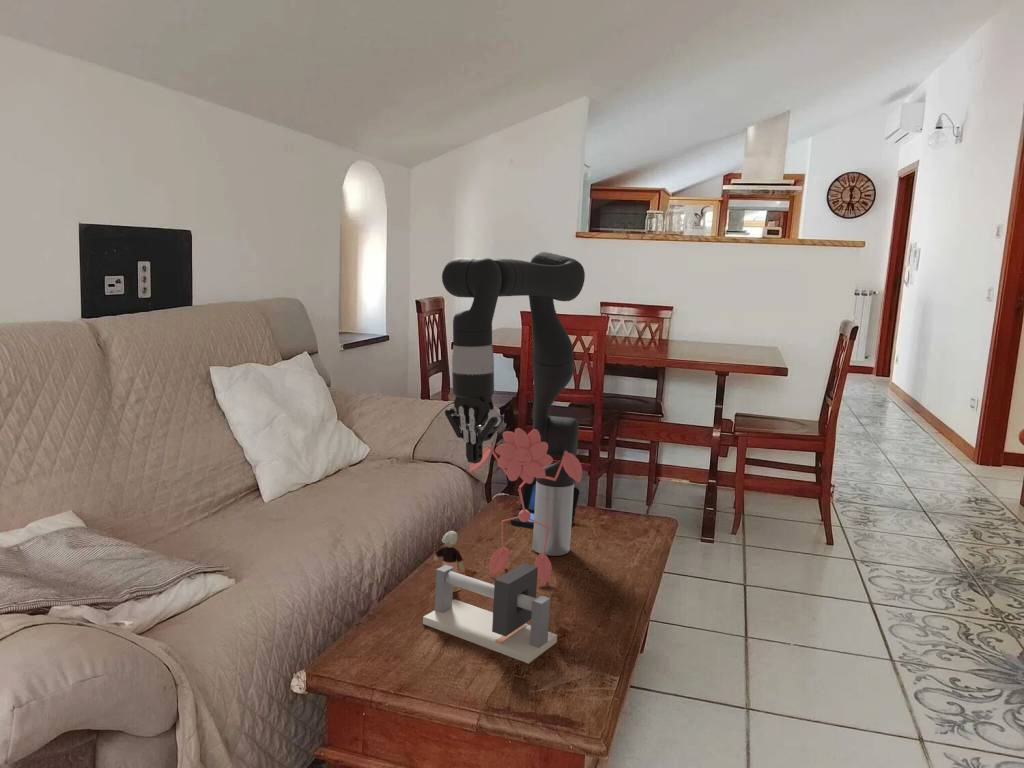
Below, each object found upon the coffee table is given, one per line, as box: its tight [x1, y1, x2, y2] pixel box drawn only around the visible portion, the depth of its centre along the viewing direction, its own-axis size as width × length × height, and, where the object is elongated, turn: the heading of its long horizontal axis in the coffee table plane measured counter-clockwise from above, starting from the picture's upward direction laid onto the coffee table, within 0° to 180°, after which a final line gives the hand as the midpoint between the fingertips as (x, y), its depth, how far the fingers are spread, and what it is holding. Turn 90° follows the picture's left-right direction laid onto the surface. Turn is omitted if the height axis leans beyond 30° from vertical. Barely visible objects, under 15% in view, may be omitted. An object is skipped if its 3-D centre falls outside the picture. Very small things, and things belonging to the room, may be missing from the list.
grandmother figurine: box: [433, 530, 465, 593], centre depth 169 cm, size 8×4×13 cm, turn 71°
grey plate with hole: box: [492, 562, 538, 636], centre depth 147 cm, size 10×3×10 cm, turn 147°
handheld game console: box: [509, 480, 580, 529], centre depth 215 cm, size 16×13×9 cm
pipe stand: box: [422, 565, 558, 665], centre depth 150 cm, size 10×24×10 cm, turn 57°
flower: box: [469, 427, 583, 598], centre depth 171 cm, size 15×26×35 cm, turn 72°
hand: (474, 462), depth 147 cm, fingers closed
